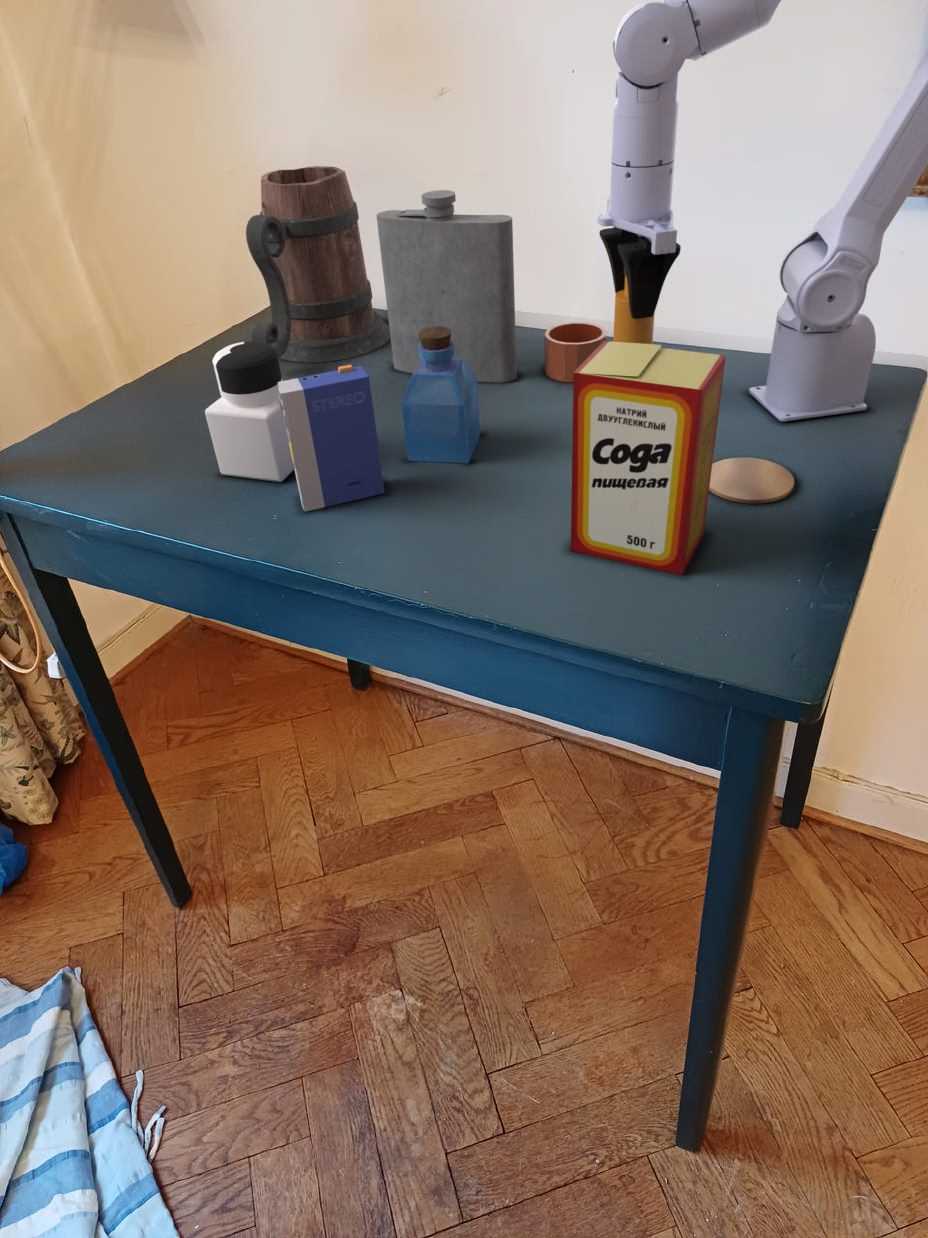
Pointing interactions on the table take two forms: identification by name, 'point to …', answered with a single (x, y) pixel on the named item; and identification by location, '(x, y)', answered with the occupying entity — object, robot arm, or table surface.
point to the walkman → (332, 436)
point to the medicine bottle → (249, 414)
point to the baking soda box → (643, 452)
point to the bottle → (630, 321)
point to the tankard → (313, 268)
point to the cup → (570, 347)
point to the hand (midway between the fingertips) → (634, 309)
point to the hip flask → (450, 284)
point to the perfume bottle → (440, 403)
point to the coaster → (750, 480)
